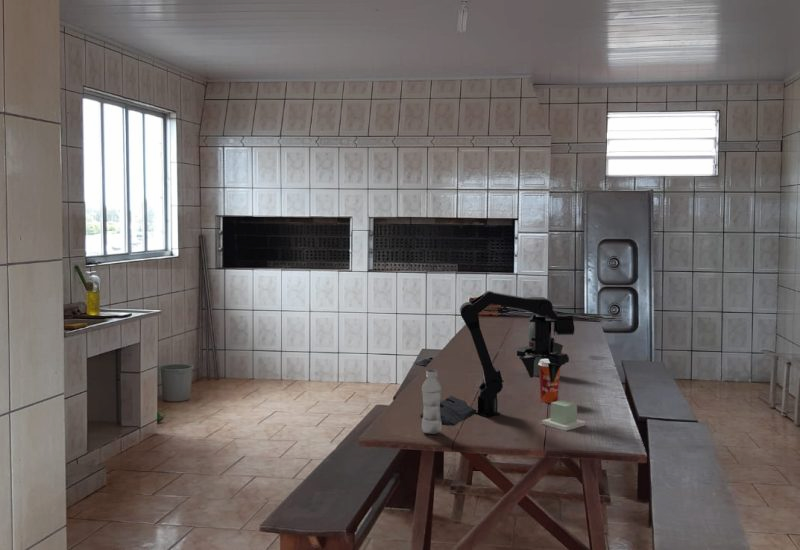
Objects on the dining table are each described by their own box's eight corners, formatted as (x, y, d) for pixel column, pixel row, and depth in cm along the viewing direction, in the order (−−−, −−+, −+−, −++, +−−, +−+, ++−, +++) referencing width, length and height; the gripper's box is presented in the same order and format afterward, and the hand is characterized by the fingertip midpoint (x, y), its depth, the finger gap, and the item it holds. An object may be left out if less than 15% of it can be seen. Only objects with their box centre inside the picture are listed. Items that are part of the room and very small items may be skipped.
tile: (565, 430, 261) (565, 427, 260) (541, 423, 268) (541, 420, 268) (585, 425, 267) (585, 421, 267) (561, 418, 275) (561, 415, 274)
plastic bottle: (440, 430, 261) (441, 368, 259) (442, 436, 254) (443, 373, 252) (420, 430, 261) (421, 368, 259) (422, 436, 254) (422, 373, 252)
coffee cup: (543, 404, 293) (544, 363, 291) (533, 399, 301) (534, 359, 299) (564, 403, 295) (565, 362, 294) (554, 397, 303) (555, 357, 301)
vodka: (553, 373, 343) (554, 302, 340) (545, 377, 336) (546, 305, 333) (532, 370, 348) (533, 301, 345) (523, 374, 341) (525, 303, 338)
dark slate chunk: (412, 421, 272) (412, 407, 272) (439, 406, 292) (439, 393, 291) (454, 427, 265) (454, 413, 265) (479, 411, 285) (479, 398, 284)
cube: (564, 424, 263) (565, 406, 263) (550, 420, 268) (550, 402, 267) (576, 421, 267) (577, 403, 266) (562, 417, 272) (562, 399, 271)
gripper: (579, 335, 275) (578, 381, 277) (537, 328, 290) (536, 372, 291) (558, 339, 268) (557, 386, 270) (516, 332, 283) (515, 376, 284)
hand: (541, 379), depth 279 cm, fingers open, 9 cm apart
